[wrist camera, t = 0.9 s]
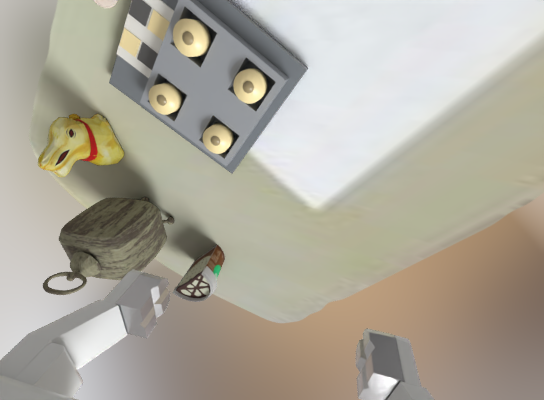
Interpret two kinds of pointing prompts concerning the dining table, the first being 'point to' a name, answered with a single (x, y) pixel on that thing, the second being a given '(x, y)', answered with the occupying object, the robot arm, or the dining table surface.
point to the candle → (106, 3)
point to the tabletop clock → (111, 240)
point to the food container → (201, 276)
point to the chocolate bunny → (79, 144)
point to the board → (204, 70)
